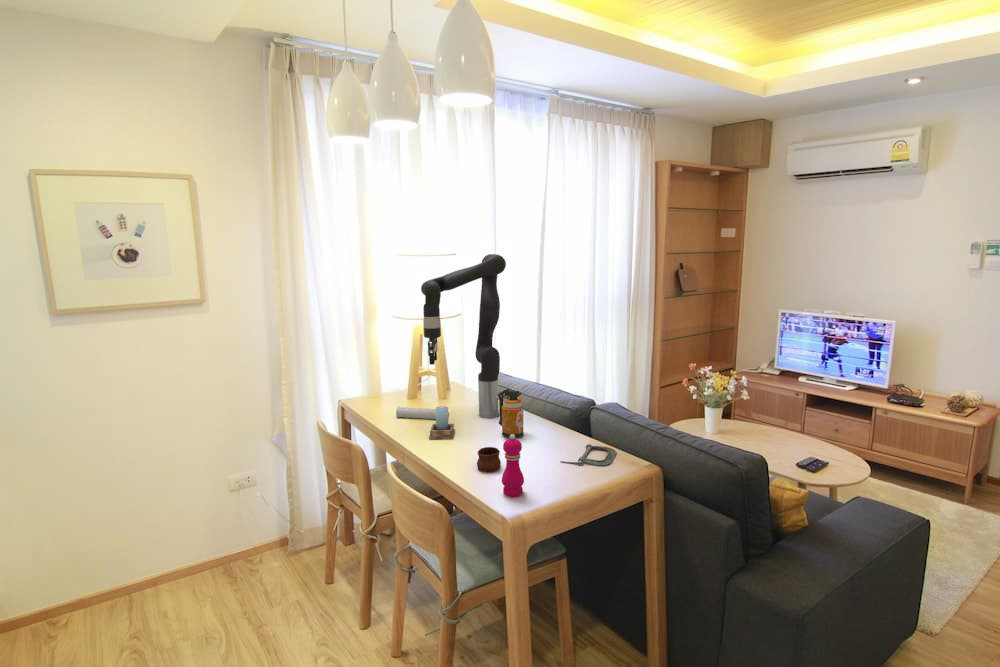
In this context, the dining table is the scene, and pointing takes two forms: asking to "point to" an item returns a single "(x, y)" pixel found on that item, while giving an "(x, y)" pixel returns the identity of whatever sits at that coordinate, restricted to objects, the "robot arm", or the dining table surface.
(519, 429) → the canister
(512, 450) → the pepper mill
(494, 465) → the ceramic pot
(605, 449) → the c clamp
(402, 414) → the tube
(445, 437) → the holder
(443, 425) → the roll
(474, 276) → the robot arm
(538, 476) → the dining table surface
